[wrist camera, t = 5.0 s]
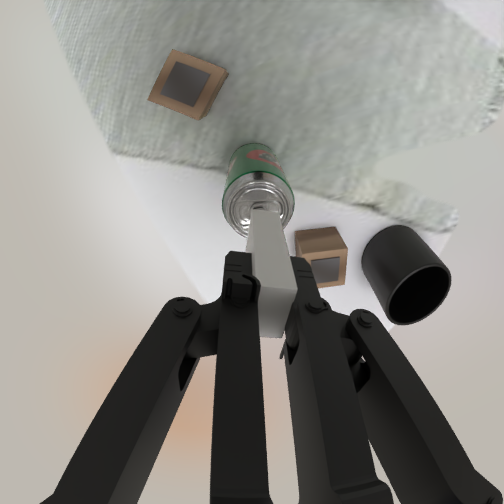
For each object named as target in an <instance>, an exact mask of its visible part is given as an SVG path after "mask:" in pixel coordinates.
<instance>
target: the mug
mask: <svg viewBox="0 0 504 504" xmlns="http://www.w3.org/2000/svg"><path fill="white" fill-rule="evenodd" d="M362 268H363V272H364V274H365V276H366V278H367V279H368V281H369V283H370V285H371V287H372V289H373V291H374V293H375V295H376V296H377V298H378V300H379V302H380V304H381V306H382V308H383V310H384V312H385V314H386V316H387V318H388V319H389V320H390V321H391V322H392V323H394V324H397V325H409V324H413V323H416V322H419V321H421V320H423V319H424V318H426V317H427V316H429V315H430V314H432V313H433V312H434V311H435V310H436V309H437V308H438V307H439V306H440V305H441V304H442V302H443V301H444V299H445V298H446V296H447V294H448V292H449V289H450V286H451V274H450V271H449V269H448V268H447V267H446V266H445V265H444V263H443V262H442V261H441V260H440V259H439V257H438V256H437V255H436V254H435V253H434V252H433V251H432V249H431V248H430V247H429V246H428V245H427V244H426V243H425V242H424V241H423V240H422V239H421V238H420V236H419V235H418V234H417V233H416V232H415V231H414V230H412V229H411V228H408V227H405V226H393V227H389V228H387V229H385V230H383V231H381V232H380V233H378V234H377V235H376V236H375V237H374V238H373V239H372V240H371V241H370V243H369V244H368V245H367V247H366V249H365V251H364V254H363V259H362Z"/></svg>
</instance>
